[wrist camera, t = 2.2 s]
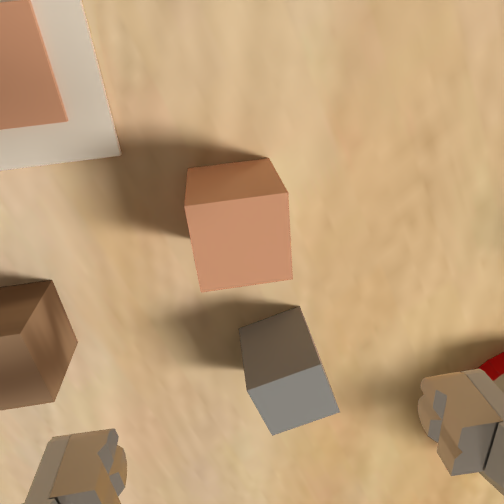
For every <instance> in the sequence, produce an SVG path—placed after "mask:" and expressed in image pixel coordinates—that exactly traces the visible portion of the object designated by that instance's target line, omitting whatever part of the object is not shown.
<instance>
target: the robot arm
mask: <svg viewBox="0 0 504 504" xmlns="http://www.w3.org/2000/svg"><path fill="white" fill-rule="evenodd" d="M420 388H421V390H422V392H423V393H424V394H423V395H422V397H421V398H420V399H419V400H418V413H419V418H420V421H421V424H422V426H423V428H424V430H425V432H426V434H427V436H428V437H430V438H431V439H433V440H434V441H436V442H437V443H438V447H437V453H438V455H439V456H440V458H441V460H442V462H443V463H444V465H445V467H446V468H447V470H448V472H449V473H450V475H451V476H455V475H461V474H468V473H475V472H482V471H485V472H484V473H485V474H486V475H487V476H488V477H490V478H491V479H492V480H494V481H495V482H496V483H497V484H499V485H500V486H501V487H503V488H504V393H503V392H502V391H501V390H500V389H499V388H498V386H497V385H496V384H495V383H494V382H493V381H492V380H491V378H490V377H489V376H488V375H487V374H486V373H485V372H484V371H483V370H481V369H473V370H467V371H461V372H453V373H447V374H441V375H436V376H430V377H424V378H423V380H422V381H421V386H420ZM117 442H118V435H117V432H116V430H115V429H106V430H99V431H91V432H84V433H76V434H70V435H63V436H57V437H52V439H51V440H50V441H49V442H48V444H47V446H46V449H45V451H44V454H43V457H42V459H41V462H40V464H39V467H38V469H37V472H36V474H35V477H34V480H33V482H32V485H31V487H30V490H29V492H28V495H27V498H26V500H25V503H23V504H121V503H120V500H119V498H118V496H119V495H120V493H121V492H122V491H123V489H124V488H125V485H126V478H127V461H126V455H125V452H124V449H123V448H122V447H120V446H118V445H117Z"/></svg>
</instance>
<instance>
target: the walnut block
mask: <svg viewBox="0 0 504 504" xmlns="http://www.w3.org/2000/svg"><path fill="white" fill-rule="evenodd" d="M77 343H78V341H77V339H76V336H75V334H74V332H73V329H72V327H71V324H70V322H69V320H68V317H67V315H66V312H65V310H64V307H63V305H62V303H61V300H60V298H59V295H58V293H57V291H56V288H55V286H54V283H53V281H52V280H49V281H42V282H35V283H28V284H20V285H13V286H6V287H0V410H6V409H13V408H19V407H25V406H32V405H38V404H44V403H51V402H55V399H56V396H57V394H58V391H59V389H60V386H61V384H62V381H63V379H64V376H65V374H66V371H67V369H68V366H69V364H70V361H71V358H72V356H73V353H74V351H75V348H76V346H77Z"/></svg>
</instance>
